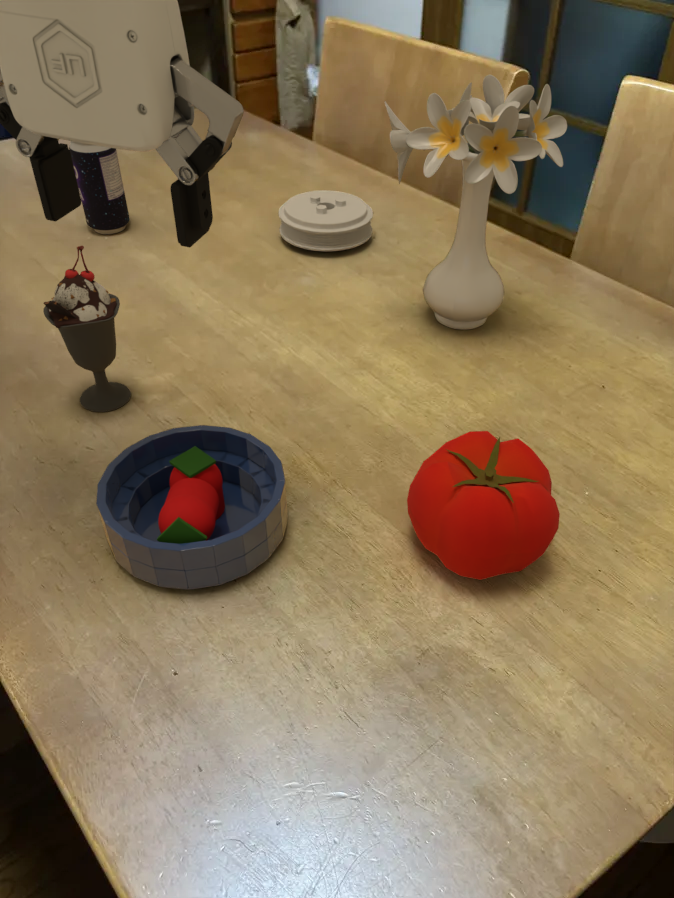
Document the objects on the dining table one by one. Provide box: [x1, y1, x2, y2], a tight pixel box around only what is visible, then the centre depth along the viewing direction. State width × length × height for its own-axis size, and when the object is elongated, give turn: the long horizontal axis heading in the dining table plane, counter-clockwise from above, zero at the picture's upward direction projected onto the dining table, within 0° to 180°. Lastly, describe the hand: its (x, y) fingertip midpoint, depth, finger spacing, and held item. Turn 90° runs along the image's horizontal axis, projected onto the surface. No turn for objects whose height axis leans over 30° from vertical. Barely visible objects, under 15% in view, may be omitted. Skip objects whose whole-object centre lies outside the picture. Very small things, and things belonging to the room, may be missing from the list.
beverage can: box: [68, 141, 131, 235], centre depth 99 cm, size 6×6×12 cm
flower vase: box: [384, 74, 568, 331], centre depth 80 cm, size 13×18×25 cm
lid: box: [277, 189, 374, 252], centre depth 101 cm, size 13×13×5 cm
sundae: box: [43, 245, 132, 413], centre depth 70 cm, size 7×7×15 cm
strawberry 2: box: [157, 478, 219, 544], centre depth 57 cm, size 4×4×5 cm
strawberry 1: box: [169, 446, 225, 520], centre depth 61 cm, size 4×4×5 cm
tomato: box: [406, 430, 561, 581], centre depth 59 cm, size 11×12×9 cm
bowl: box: [95, 424, 289, 591], centre depth 61 cm, size 14×14×5 cm
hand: (128, 225), depth 50 cm, fingers open, 9 cm apart
